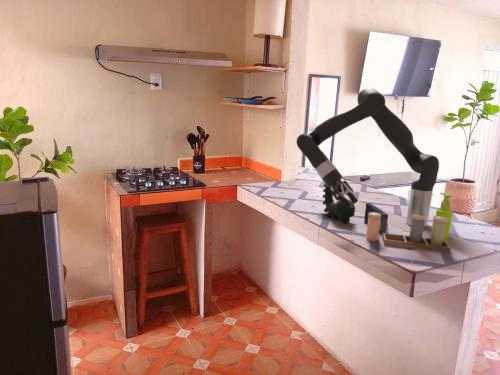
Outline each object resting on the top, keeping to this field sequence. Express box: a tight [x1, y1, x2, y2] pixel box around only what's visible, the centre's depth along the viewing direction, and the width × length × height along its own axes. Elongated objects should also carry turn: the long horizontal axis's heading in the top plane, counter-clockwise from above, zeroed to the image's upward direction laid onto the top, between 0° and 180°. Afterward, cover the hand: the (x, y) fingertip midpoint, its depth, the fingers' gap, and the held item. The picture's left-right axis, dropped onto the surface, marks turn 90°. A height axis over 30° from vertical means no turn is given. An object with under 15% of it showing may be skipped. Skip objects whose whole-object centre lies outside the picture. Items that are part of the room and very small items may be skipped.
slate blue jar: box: [408, 214, 426, 244], centre depth 149 cm, size 5×5×12 cm
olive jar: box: [429, 215, 447, 246], centre depth 147 cm, size 5×5×12 cm
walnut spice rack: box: [381, 232, 452, 254], centre depth 150 cm, size 8×24×4 cm, turn 76°
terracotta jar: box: [365, 212, 381, 242], centre depth 154 cm, size 5×5×12 cm
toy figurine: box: [321, 183, 356, 224], centre depth 182 cm, size 9×19×25 cm
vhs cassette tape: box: [363, 202, 389, 235], centre depth 169 cm, size 18×3×10 cm, turn 4°
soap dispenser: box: [435, 192, 454, 241], centre depth 158 cm, size 6×7×20 cm
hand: (352, 204), depth 157 cm, fingers open, 8 cm apart
